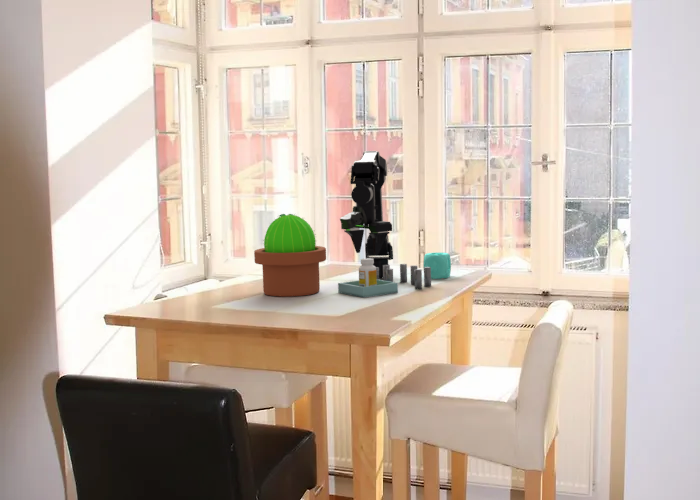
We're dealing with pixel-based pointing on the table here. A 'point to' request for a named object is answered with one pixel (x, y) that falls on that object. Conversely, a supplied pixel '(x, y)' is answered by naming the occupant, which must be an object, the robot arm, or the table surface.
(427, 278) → the spacer field
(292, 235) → the potted cactus
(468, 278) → the table surface
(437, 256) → the decorative dice
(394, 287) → the teal tray
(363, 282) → the supplement bottle
